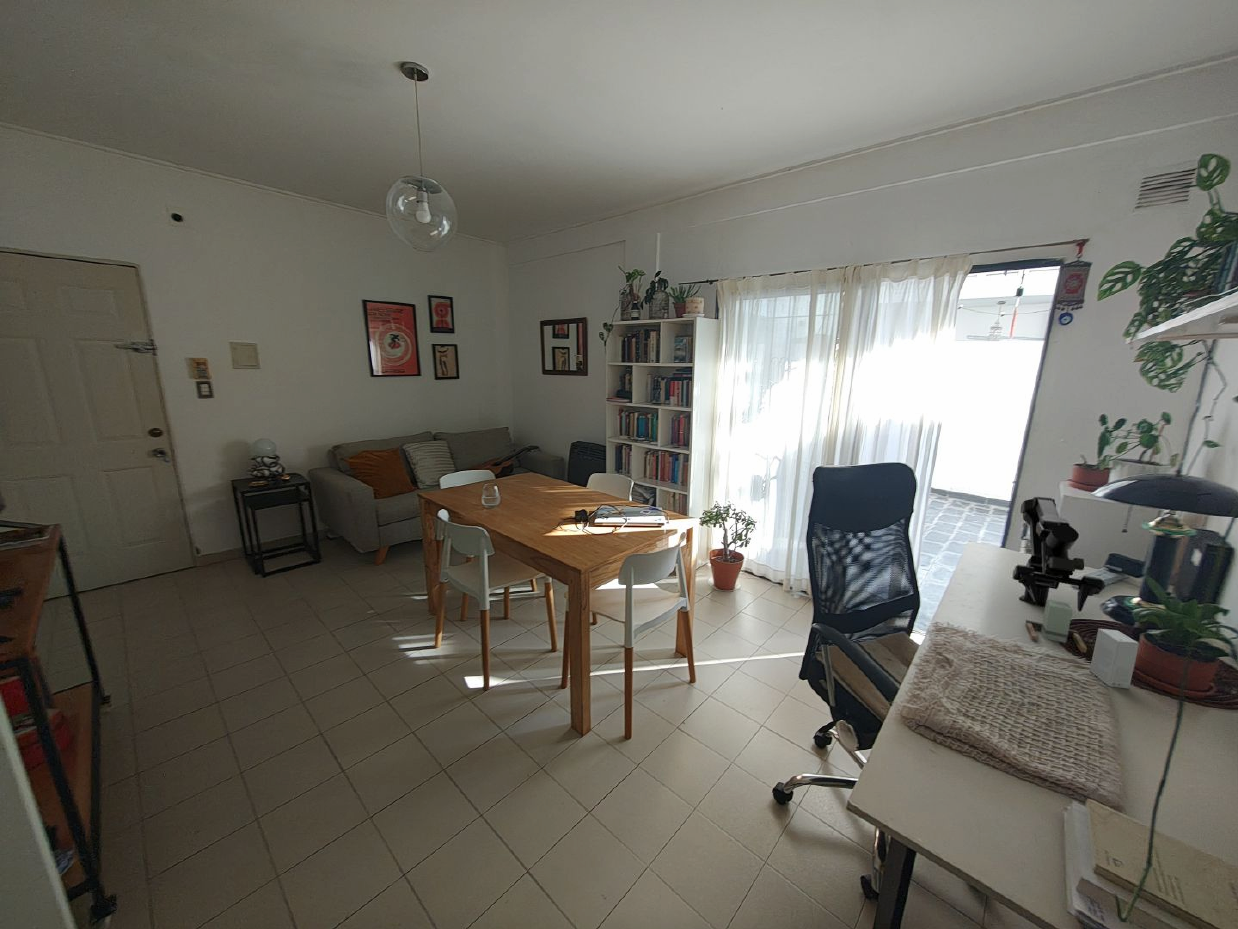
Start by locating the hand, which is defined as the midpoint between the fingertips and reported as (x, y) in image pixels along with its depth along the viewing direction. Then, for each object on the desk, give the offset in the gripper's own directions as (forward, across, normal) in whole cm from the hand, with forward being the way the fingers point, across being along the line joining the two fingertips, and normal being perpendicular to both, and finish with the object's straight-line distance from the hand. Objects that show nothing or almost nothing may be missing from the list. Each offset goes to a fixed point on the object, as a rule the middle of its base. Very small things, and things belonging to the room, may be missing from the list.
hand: (1057, 606), depth 128 cm
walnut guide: (+8, 0, +5) cm, 9 cm away
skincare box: (+20, +7, -8) cm, 23 cm away
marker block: (+7, 0, +6) cm, 9 cm away
